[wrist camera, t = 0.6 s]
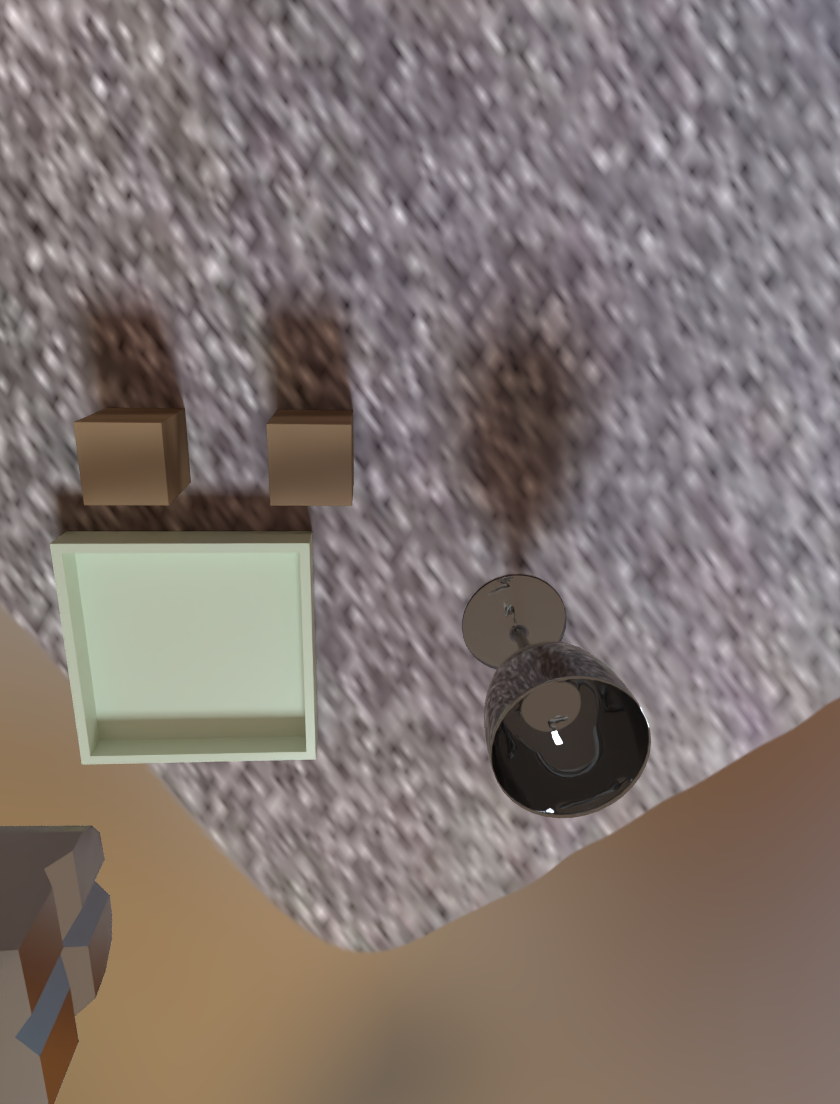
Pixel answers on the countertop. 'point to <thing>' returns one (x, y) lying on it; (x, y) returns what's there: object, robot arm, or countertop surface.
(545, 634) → the wine glass
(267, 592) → the tray
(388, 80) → the countertop surface
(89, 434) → the block
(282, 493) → the block
